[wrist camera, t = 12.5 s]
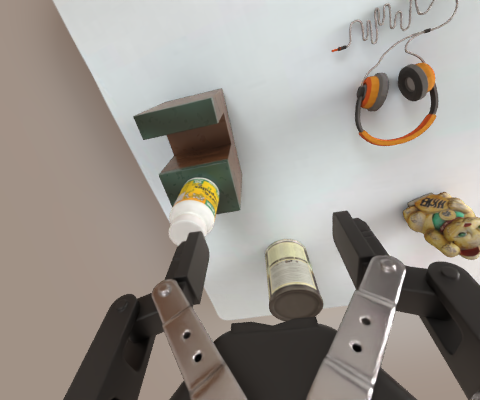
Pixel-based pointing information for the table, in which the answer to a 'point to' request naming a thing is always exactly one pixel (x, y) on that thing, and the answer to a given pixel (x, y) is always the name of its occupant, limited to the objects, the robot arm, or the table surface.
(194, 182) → the supplement bottle
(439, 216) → the decorative figurine
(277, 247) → the coffee can
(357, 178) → the table surface
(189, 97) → the notched wooden block
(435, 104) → the headphones
